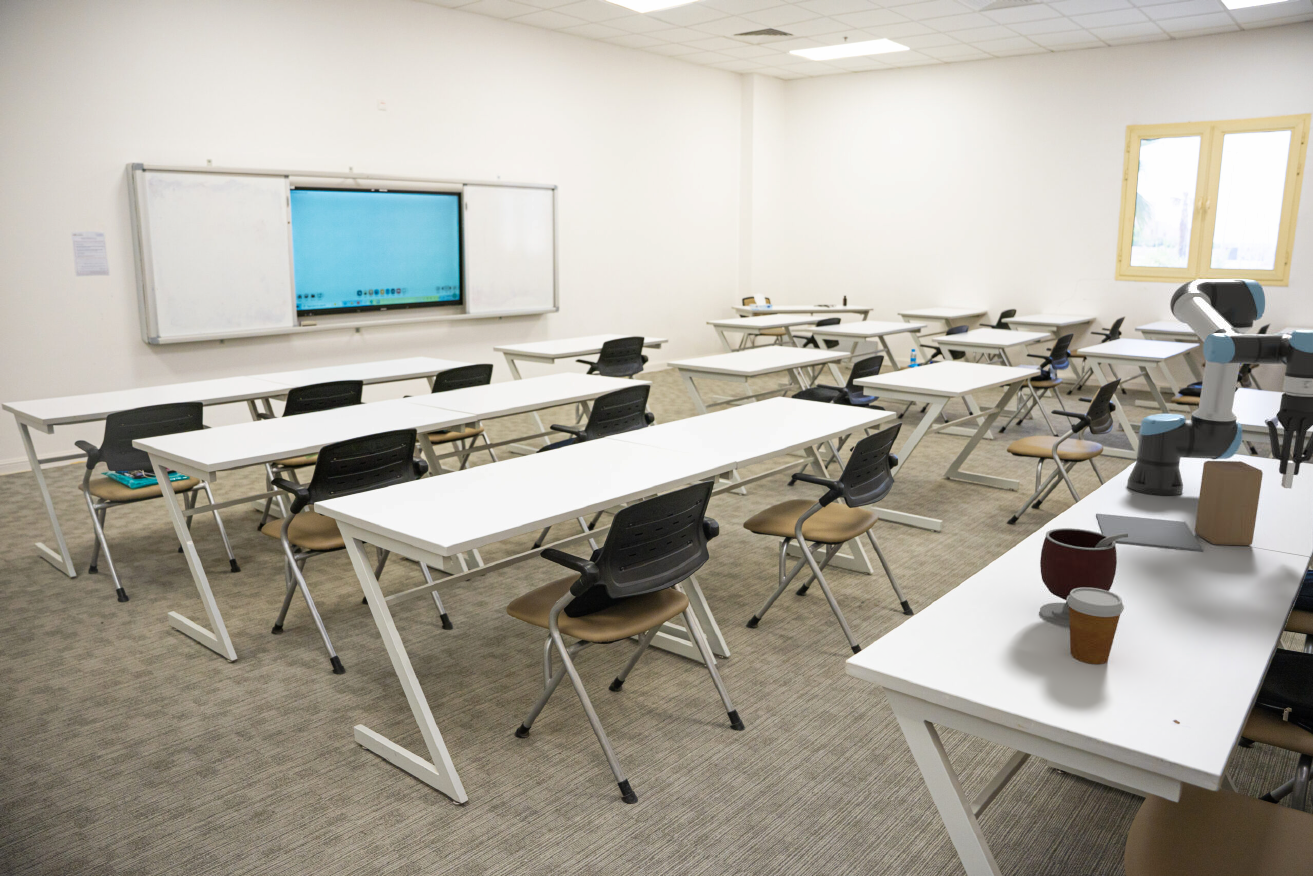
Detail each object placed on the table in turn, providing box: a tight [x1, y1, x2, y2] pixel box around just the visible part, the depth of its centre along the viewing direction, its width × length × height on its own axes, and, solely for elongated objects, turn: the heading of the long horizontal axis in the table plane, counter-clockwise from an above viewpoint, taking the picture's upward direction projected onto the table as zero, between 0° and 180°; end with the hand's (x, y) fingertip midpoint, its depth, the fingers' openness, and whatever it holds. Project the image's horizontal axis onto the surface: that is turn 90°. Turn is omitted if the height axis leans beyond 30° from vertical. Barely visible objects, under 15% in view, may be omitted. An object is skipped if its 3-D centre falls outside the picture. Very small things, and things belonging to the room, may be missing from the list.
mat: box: [1095, 512, 1204, 552], centre depth 235 cm, size 24×22×1 cm
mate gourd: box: [1039, 527, 1128, 629], centre depth 180 cm, size 16×14×20 cm
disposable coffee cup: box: [1067, 587, 1125, 665], centre depth 164 cm, size 10×10×12 cm
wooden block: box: [1194, 460, 1264, 546], centre depth 227 cm, size 10×10×20 cm
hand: (1286, 486), depth 222 cm, fingers closed
